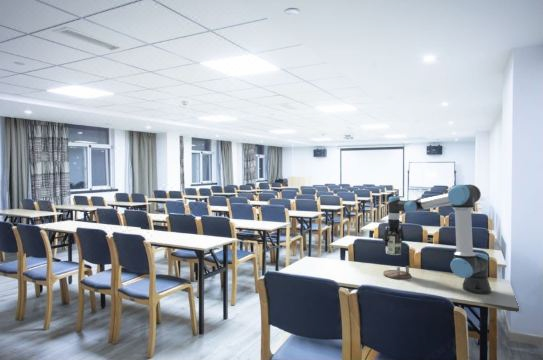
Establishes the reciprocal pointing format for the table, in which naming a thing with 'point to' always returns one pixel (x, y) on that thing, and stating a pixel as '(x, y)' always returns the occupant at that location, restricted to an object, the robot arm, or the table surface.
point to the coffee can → (394, 244)
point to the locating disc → (397, 273)
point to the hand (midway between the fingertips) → (393, 250)
